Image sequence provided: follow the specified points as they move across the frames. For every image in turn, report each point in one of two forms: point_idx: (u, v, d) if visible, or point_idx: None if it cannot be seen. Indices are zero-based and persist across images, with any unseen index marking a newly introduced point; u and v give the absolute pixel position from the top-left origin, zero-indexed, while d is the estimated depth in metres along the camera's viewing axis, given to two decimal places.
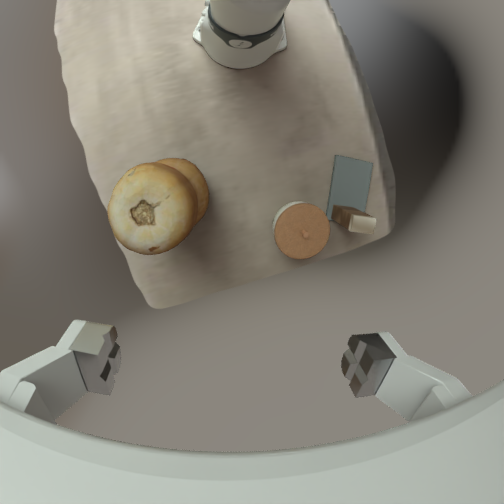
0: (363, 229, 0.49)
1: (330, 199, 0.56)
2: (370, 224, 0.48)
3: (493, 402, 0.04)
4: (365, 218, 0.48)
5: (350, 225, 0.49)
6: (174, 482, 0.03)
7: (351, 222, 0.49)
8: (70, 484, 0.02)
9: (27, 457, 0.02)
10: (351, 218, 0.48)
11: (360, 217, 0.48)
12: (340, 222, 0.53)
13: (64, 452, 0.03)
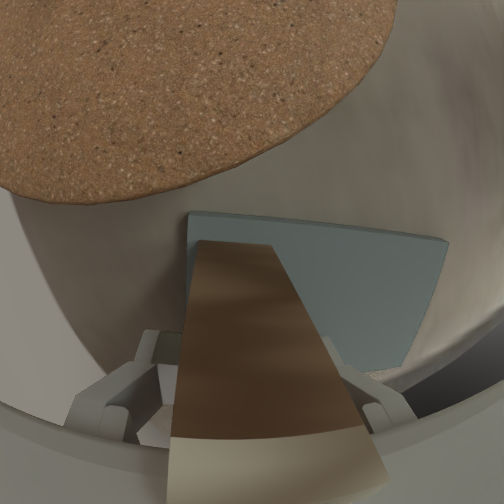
0: None
1: (295, 227, 0.12)
2: None
3: (493, 402, 0.04)
4: None
5: (236, 463, 0.03)
6: None
7: (289, 465, 0.03)
8: (70, 484, 0.02)
9: (27, 457, 0.02)
10: (329, 451, 0.03)
11: None
12: (201, 303, 0.07)
13: (64, 452, 0.03)
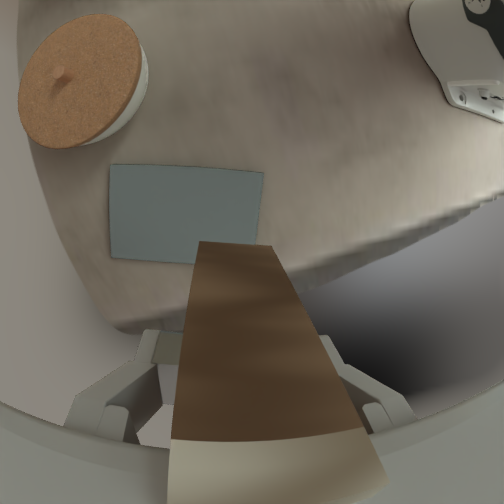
0: None
1: (155, 167, 0.23)
2: None
3: (493, 402, 0.04)
4: None
5: (236, 466, 0.03)
6: None
7: (288, 467, 0.03)
8: (70, 484, 0.02)
9: (27, 457, 0.02)
10: (329, 453, 0.03)
11: None
12: (201, 305, 0.07)
13: (64, 452, 0.03)
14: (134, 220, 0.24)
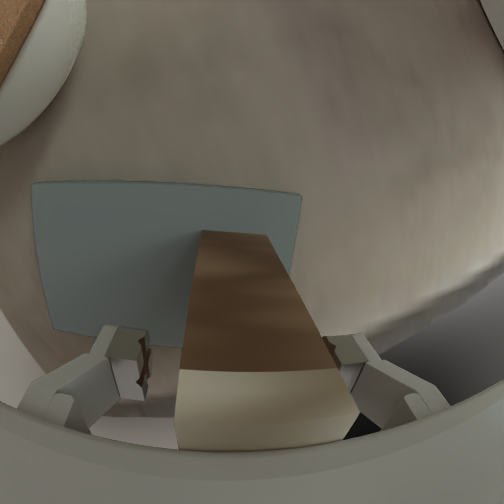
0: None
1: (100, 186, 0.11)
2: None
3: (493, 402, 0.04)
4: None
5: (231, 389, 0.04)
6: (174, 482, 0.03)
7: (273, 392, 0.04)
8: (70, 484, 0.02)
9: (27, 457, 0.02)
10: (306, 384, 0.04)
11: None
12: (205, 277, 0.08)
13: (64, 451, 0.03)
14: (75, 279, 0.13)
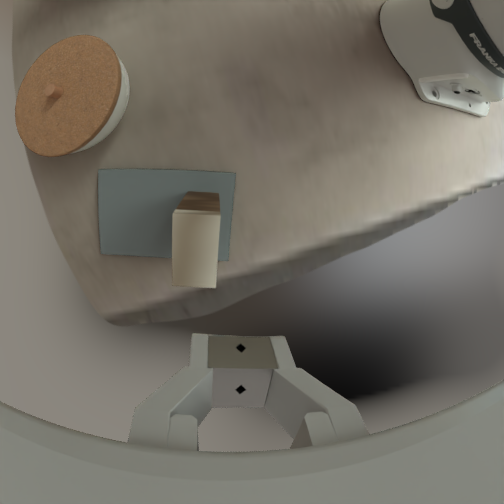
0: (181, 252, 0.18)
1: (138, 170, 0.25)
2: (198, 272, 0.18)
3: (493, 402, 0.04)
4: (214, 253, 0.18)
5: (188, 211, 0.18)
6: (174, 482, 0.03)
7: (198, 212, 0.18)
8: (70, 484, 0.02)
9: (27, 457, 0.02)
10: (208, 212, 0.18)
11: (216, 237, 0.18)
12: (186, 199, 0.21)
13: (64, 451, 0.03)
14: (121, 219, 0.26)
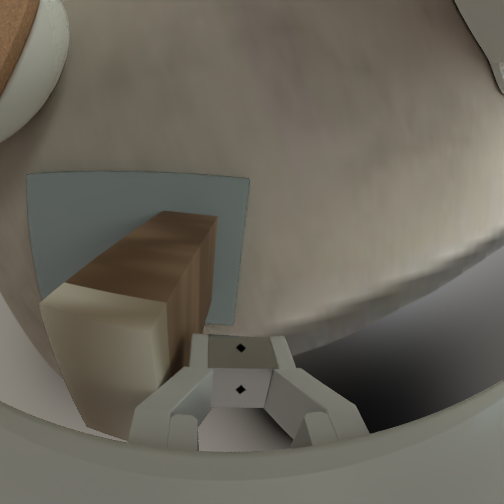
0: (82, 387, 0.06)
1: (81, 175, 0.13)
2: (126, 425, 0.06)
3: (493, 402, 0.04)
4: None
5: (81, 296, 0.06)
6: (174, 482, 0.03)
7: (103, 303, 0.06)
8: (70, 484, 0.02)
9: (27, 457, 0.02)
10: (130, 305, 0.06)
11: (147, 378, 0.05)
12: (130, 239, 0.10)
13: (64, 452, 0.03)
14: (61, 255, 0.14)
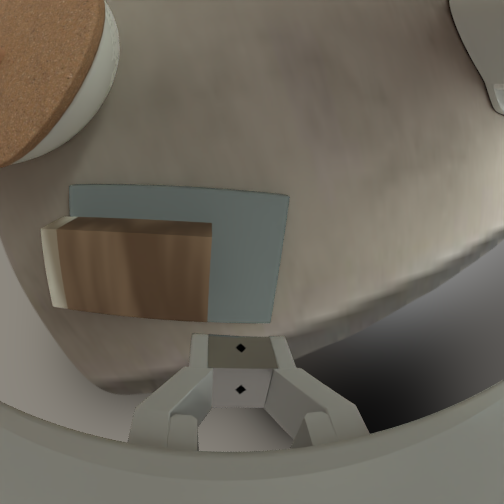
0: None
1: (131, 188, 0.15)
2: None
3: (493, 402, 0.04)
4: None
5: (66, 220, 0.14)
6: (174, 482, 0.03)
7: (60, 222, 0.14)
8: (70, 484, 0.02)
9: (27, 457, 0.02)
10: (57, 225, 0.13)
11: None
12: (130, 220, 0.15)
13: (64, 451, 0.03)
14: None
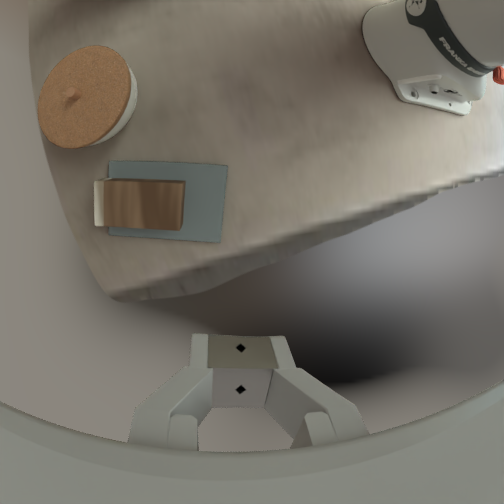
0: None
1: (144, 162, 0.29)
2: None
3: (493, 402, 0.04)
4: None
5: (107, 179, 0.28)
6: (174, 482, 0.03)
7: (104, 179, 0.27)
8: (70, 484, 0.02)
9: (27, 457, 0.02)
10: (103, 180, 0.27)
11: None
12: (142, 179, 0.29)
13: (64, 452, 0.03)
14: None
